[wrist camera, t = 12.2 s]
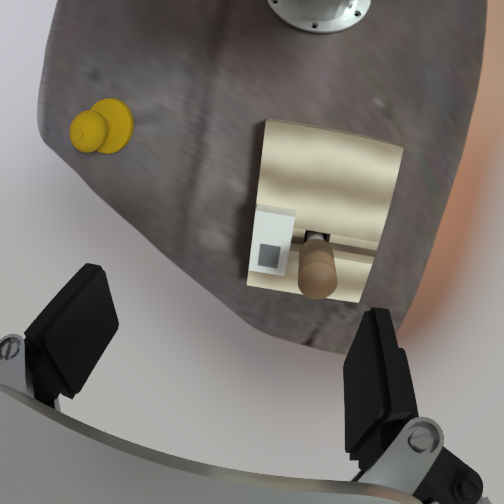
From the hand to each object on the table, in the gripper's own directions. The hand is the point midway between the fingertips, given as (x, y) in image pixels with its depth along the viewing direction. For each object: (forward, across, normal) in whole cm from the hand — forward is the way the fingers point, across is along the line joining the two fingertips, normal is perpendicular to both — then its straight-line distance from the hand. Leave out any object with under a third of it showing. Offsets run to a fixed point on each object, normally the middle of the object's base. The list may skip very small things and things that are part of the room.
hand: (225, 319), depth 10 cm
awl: (+30, -5, +11) cm, 32 cm away
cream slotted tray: (+30, -6, +8) cm, 31 cm away
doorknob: (+30, +24, -2) cm, 39 cm away
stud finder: (+26, 0, +11) cm, 29 cm away
